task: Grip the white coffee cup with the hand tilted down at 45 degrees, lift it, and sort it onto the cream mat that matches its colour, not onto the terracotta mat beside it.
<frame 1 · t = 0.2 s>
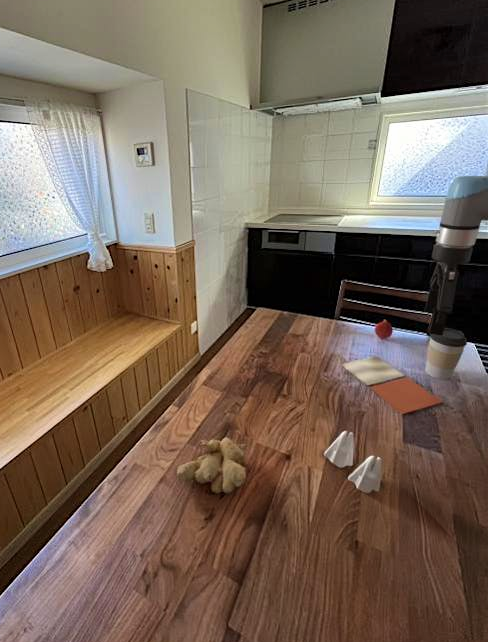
hand: (432, 322, 90), 24 cm above the table, tool pointing down, fingers open, 13 cm apart
cream mat: (371, 370, 110), on the table
ginger root: (219, 472, 79), on the table
shaker set: (349, 474, 77), on the table
terracotta mat: (405, 395, 99), on the table
onion: (381, 339, 128), on the table
coffee cup: (437, 373, 107), on the table
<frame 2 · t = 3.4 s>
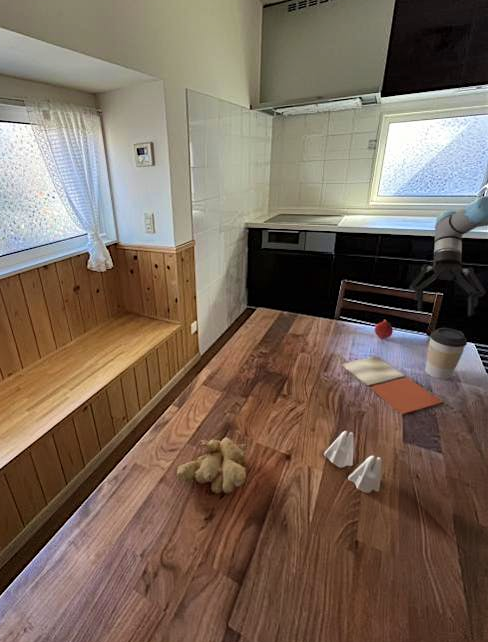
hand: (444, 312, 109), 17 cm above the table, tool tilted 45°, fingers open, 13 cm apart
nothing on the table moved.
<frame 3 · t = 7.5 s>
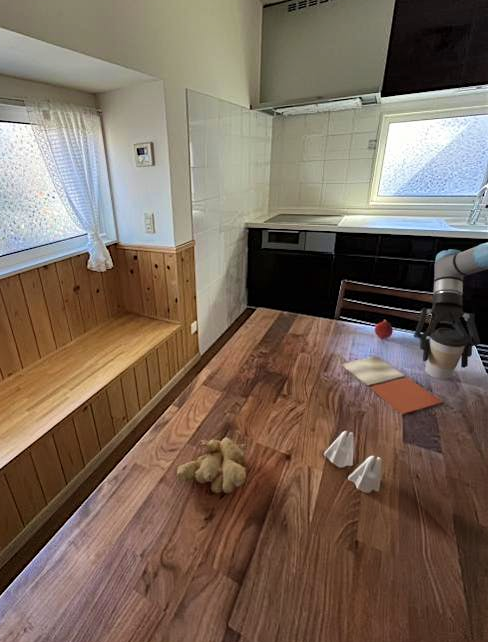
hand: (444, 363, 102), 6 cm above the table, tool tilted 45°, fingers closed on coffee cup, 9 cm apart
coffee cup: (437, 373, 107), on the table, touching gripper
everything else where it was.
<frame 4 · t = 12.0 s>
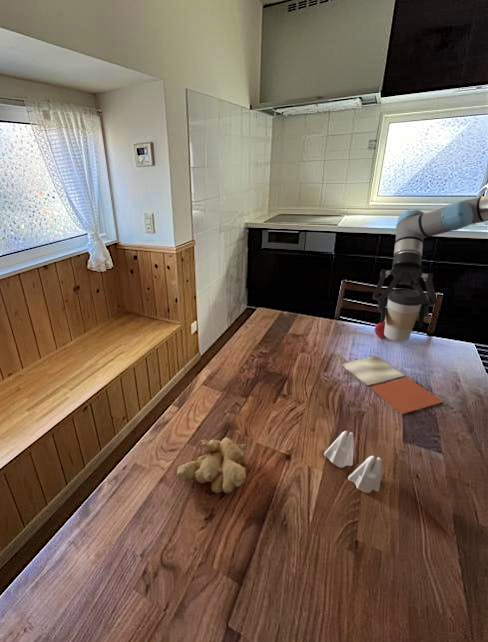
hand: (401, 323, 99), 19 cm above the table, tool tilted 45°, fingers closed on coffee cup, 9 cm apart
coffee cup: (396, 336, 104), point 13 cm above the table, touching gripper
everything else where it was.
when the fingers open (6 cm above the table, at t = 16.6 s): coffee cup stays where it is, resting on cream mat.
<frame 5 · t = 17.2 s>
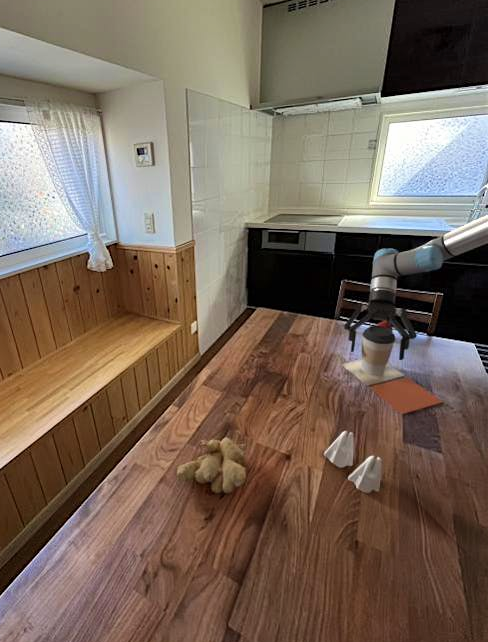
hand: (376, 355, 105), 8 cm above the table, tool tilted 45°, fingers open, 13 cm apart
coffee cup: (372, 369, 110), resting on cream mat
everything else where it was.
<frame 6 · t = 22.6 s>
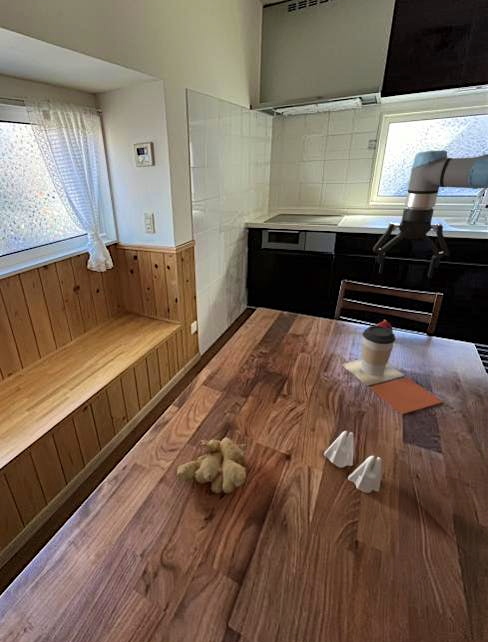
hand: (404, 274, 109), 29 cm above the table, tool pointing down, fingers open, 13 cm apart
nothing on the table moved.
at the end: coffee cup inside the target area (0.1 cm from its centre), resting on cream mat; coffee cup tilted 0°; coffee cup touching cream mat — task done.
